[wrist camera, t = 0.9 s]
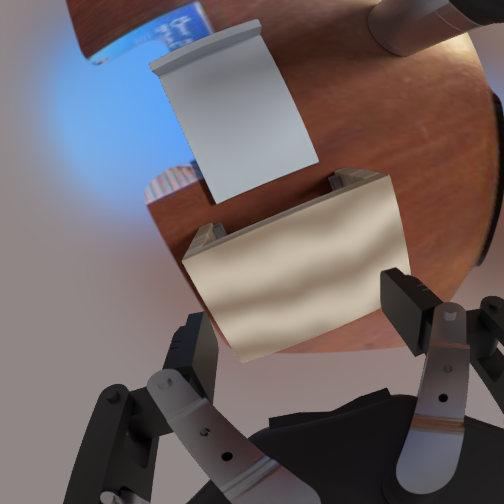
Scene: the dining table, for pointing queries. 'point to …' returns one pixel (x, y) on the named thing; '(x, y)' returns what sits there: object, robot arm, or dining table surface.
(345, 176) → the small table
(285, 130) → the slab
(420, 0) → the robot arm
